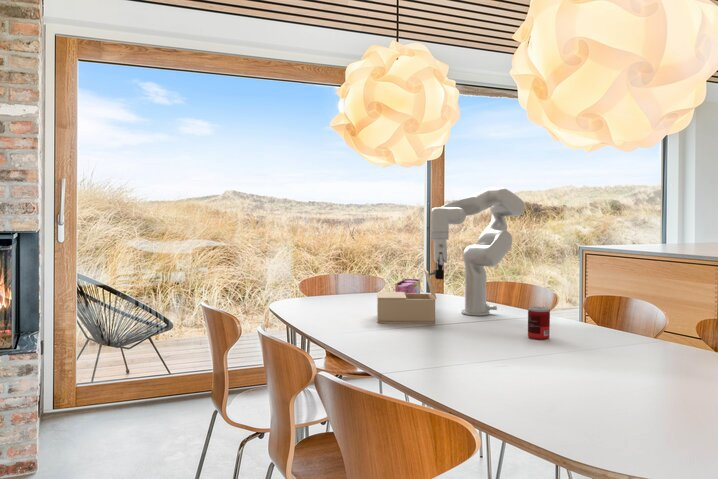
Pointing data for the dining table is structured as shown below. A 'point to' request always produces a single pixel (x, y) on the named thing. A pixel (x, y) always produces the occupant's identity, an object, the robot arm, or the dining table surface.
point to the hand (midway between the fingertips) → (439, 278)
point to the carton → (405, 308)
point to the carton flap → (430, 281)
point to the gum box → (408, 286)
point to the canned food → (538, 323)
